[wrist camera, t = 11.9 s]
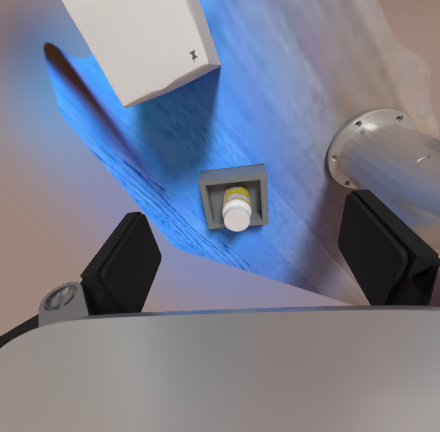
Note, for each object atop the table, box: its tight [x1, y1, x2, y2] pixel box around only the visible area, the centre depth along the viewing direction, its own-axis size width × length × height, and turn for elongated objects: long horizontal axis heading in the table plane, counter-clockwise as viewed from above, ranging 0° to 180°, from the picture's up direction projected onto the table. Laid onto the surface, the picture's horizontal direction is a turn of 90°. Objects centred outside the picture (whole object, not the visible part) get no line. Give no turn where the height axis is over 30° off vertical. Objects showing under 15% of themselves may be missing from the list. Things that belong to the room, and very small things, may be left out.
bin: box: [198, 164, 268, 229], centre depth 40 cm, size 11×10×4 cm
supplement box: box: [62, 0, 221, 108], centre depth 23 cm, size 9×9×15 cm
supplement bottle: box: [222, 184, 251, 231], centre depth 37 cm, size 5×5×8 cm
